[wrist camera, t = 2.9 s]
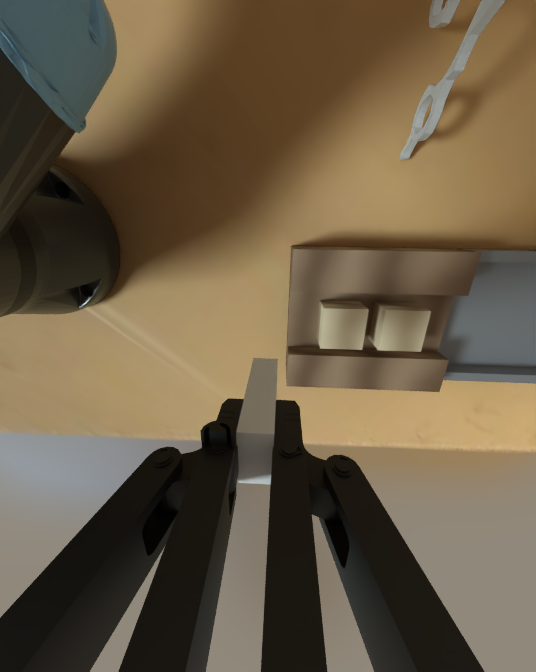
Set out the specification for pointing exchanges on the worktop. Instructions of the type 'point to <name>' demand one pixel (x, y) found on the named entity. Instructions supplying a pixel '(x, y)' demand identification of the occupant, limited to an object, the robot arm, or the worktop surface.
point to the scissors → (440, 91)
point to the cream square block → (341, 324)
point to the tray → (494, 321)
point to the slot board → (369, 287)
